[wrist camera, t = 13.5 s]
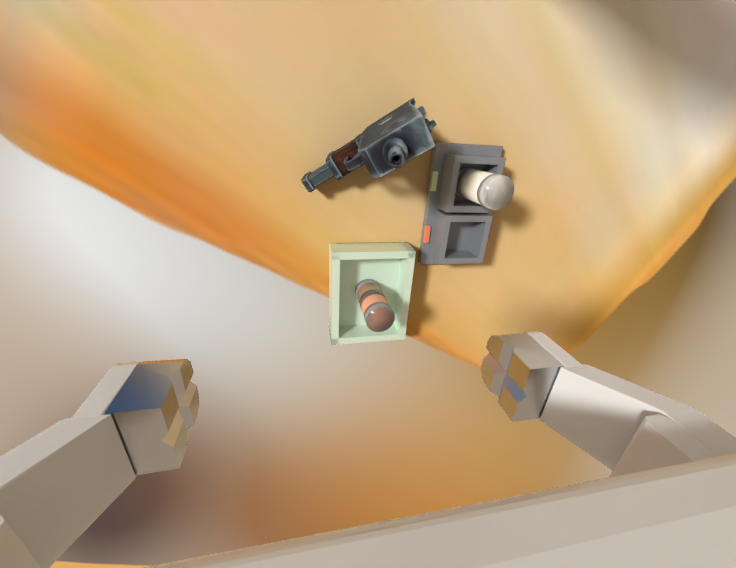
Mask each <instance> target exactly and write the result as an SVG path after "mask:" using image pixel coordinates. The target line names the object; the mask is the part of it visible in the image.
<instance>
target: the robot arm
mask: <svg viewBox="0 0 736 568" xmlns="http://www.w3.org/2000/svg"><path fill="white" fill-rule="evenodd" d="M486 348H487V350H488V351H489V354H488V355H487V356H486V357H485V358H484V359H483V362H482V366H481V372H482V378H483V380H484V383H485V385H486V387H487V388H488V389H489V391H491V392H492V393H494V394H496V395H498V396H499V400H498V403H499V404H500V406H501V407H502V408H503V410H504V411H505V412H506V414H507V415H508V417H509V418H510V419H511V421H521V420H530V419H539V418H540V420H541V421H542V422H543V423H545V424H546V425H548V426H549V427H550V428H552V429H553V430H555V431H556V432H558V433H559V434H561V435H562V436H563V437H565V438H566V439H568V440H569V441H571V442H572V443H574V444H575V445H576V446H578V447H579V448H581V449H582V450H584V451H585V452H587V453H588V454H589V455H591V456H592V457H594V458H595V459H597V460H598V461H600V462H601V463H602V464H604V465H605V466H607V467H608V468H610V469H611V470H613V472H612V473H611V475H610V477H609V478H604V479H598V480H593V481H588V482H583V483H578V484H573V485H568V486H562V487H557V488H552V489H547V490H542V491H537V492H532V493H526V494H521V495H516V496H511V497H506V498H501V499H496V500H491V501H485V502H481V503H475V504H470V505H465V506H460V507H455V508H449V509H444V510H439V511H434V512H429V513H423V514H419V515H413V516H408V517H403V518H398V519H393V520H387V521H382V522H378V523H372V524H367V525H362V526H356V527H352V528H346V529H341V530H336V531H331V532H325V533H320V534H315V535H310V536H305V537H300V538H294V539H289V540H284V541H279V542H274V543H269V544H263V545H258V546H253V547H248V548H243V549H238V550H232V551H228V552H222V553H217V554H212V555H207V556H201V557H196V558H191V559H186V560H181V561H176V562H170V563H165V564H160V565H155V566H150V567H144V568H736V438H735V437H734V436H732V435H731V434H730V433H728V432H727V431H725V430H724V429H722V428H721V427H720V426H718V425H717V424H715V423H714V422H713V421H711V420H710V419H708V418H707V417H706V416H704V415H703V414H701V413H700V412H699V411H697V410H696V409H694V408H692V407H690V406H688V405H685V404H683V403H680V402H678V401H675V400H673V399H670V398H668V397H666V396H663V395H661V394H658V393H656V392H653V391H651V390H648V389H646V388H644V387H641V386H639V385H636V384H634V383H631V382H629V381H626V380H624V379H621V378H619V377H616V376H614V375H612V374H609V373H607V372H604V371H602V370H599V369H597V368H595V367H592V366H589V365H587V364H585V365H582V364H580V363H579V362H578V361H577V360H576V359H574V358H573V357H572V356H571V355H570V354H568V353H567V352H566V351H565V350H564V349H562V348H561V347H560V346H559V345H557V344H556V343H555V342H554V341H553V340H551V339H550V338H549V337H548V336H547V335H545V334H544V333H542V332H539V331H532V332H523V333H518V334H505V335H493V336H491V337H490V338H489V340H488V342H487V346H486ZM192 374H193V368H192V365H191V362H190V361H189V360H188V359H178V360H161V361H144V362H130V363H118V364H116V365H114V366H112V367H111V368H110V370H109V371H108V372H107V374H106V375H105V376H104V377H103V378H102V380H101V381H100V382H99V384H98V385H97V386H96V387H95V389H94V390H93V391H92V393H91V394H90V395H89V396H88V398H87V399H86V400H85V402H84V403H83V404H82V405H81V407H80V408H79V409H78V410H77V412H76V413H75V414H74V416H73V417H72V418H69V419H62V420H61V421H59V422H57V423H56V424H54V425H52V426H51V427H49V428H47V429H46V430H44V431H42V432H41V433H39V434H37V435H36V436H34V437H32V438H31V439H29V440H27V441H26V442H24V443H23V444H21V445H19V446H17V447H16V448H14V449H12V450H11V451H9V452H8V453H6V454H4V455H2V456H1V457H0V568H49V567H50V566H51V565H52V564H53V563H54V562H55V561H56V560H57V559H58V558H59V557H60V556H61V555H62V553H64V552H65V551H66V550H67V549H68V548H69V547H70V546H71V544H72V543H73V542H74V541H75V540H76V539H77V538H78V537H79V536H80V535H81V534H82V533H83V532H84V531H85V530H86V529H87V528H88V527H89V526H90V525H91V524H92V523H93V522H94V520H96V519H97V518H98V517H99V515H100V514H101V513H102V512H103V511H104V510H105V509H106V508H107V507H108V506H109V505H110V504H111V503H112V502H113V501H114V500H115V499H116V498H117V497H118V496H119V495H120V494H121V493H122V491H124V489H126V487H127V486H128V485H129V484H130V483H131V482H132V481H133V480H134V479H135V478H136V475H140V474H146V473H152V472H158V471H164V470H170V469H176V468H180V465H181V462H182V459H183V456H184V453H185V450H186V447H187V445H188V442H189V441H188V438H187V433H186V432H187V431H188V430H190V429H191V428H192V427H193V426H194V424H195V421H196V418H197V415H198V407H199V395H198V389H197V386H196V385H195V384H193V383H192V382H191V381H190V380H191V377H192Z"/></svg>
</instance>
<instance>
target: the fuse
mask: <svg viewBox="0 0 736 568" xmlns="http://www.w3.org/2000/svg"><path fill="white" fill-rule="evenodd" d="M513 193H514V184H513V182H512V180H511V179H510V178H509V177H507V176H504V175H500V174H494V173H489V172H485V171H481V170H476V169H474V168H470V167H463V168H461V169H459V175H458V181H457V187H456V193H455V194H456V195H458V196H460V197H462V198H466V199H468V200H471V201H473V202H475V203H478V204H480V205H482V206H484V207H486V208H488V209H491V210H499V209H501V208H503V207H505V206H506V205H507V204H508V203H509V202H510V200H511V199H512V196H513Z"/></svg>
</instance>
